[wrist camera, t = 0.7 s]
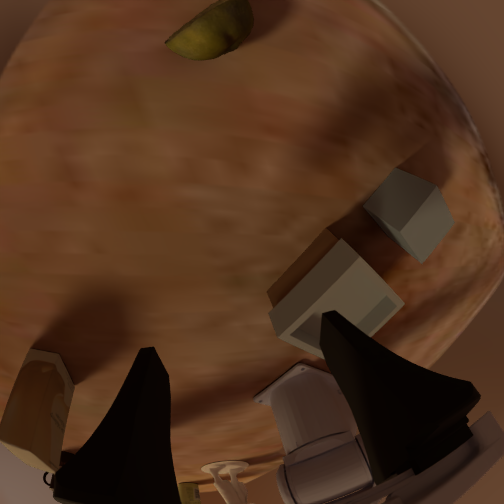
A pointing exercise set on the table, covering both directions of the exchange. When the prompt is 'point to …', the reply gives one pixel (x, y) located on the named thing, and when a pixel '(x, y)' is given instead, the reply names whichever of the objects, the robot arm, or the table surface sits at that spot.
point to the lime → (213, 31)
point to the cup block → (334, 299)
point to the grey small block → (410, 213)
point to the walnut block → (302, 266)
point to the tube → (189, 493)
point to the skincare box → (38, 411)
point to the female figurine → (231, 491)
